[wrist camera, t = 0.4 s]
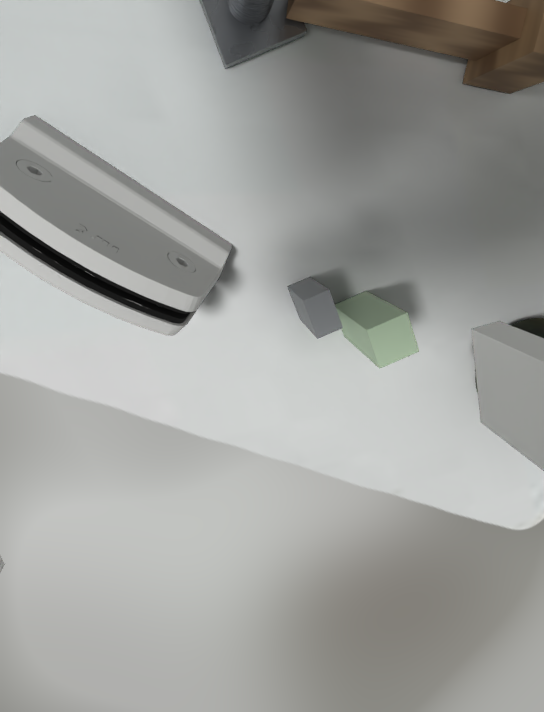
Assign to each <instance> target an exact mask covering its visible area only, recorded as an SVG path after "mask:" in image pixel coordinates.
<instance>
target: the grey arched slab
mask: <svg viewBox="0 0 544 712" xmlns="http://www.w3.org/2000/svg"><path fill="white" fill-rule="evenodd" d="M231 247H232V244H231V243H229V242H228V241H226V240H225V239H223V238H222V237H220V236H219V235H217V234H216V233H214V232H212V231H211V230H209V229H208V228H206V227H205V226H203V225H202V224H200V223H199V222H197V221H196V220H194V219H193V218H191V217H190V216H188V215H186V214H185V213H183V212H182V211H180V210H179V209H177V208H176V207H174V206H173V205H171V204H170V203H168V202H167V201H165V200H164V199H162V198H160V197H159V196H157V195H156V194H154V193H153V192H151V191H150V190H148V189H147V188H145V187H144V186H142V185H141V184H139V183H138V182H136V181H134V180H133V179H131V178H130V177H128V176H127V175H125V174H124V173H122V172H121V171H119V170H118V169H116V168H115V167H113V166H112V165H110V164H109V163H107V162H105V161H104V160H102V159H101V158H99V157H98V156H96V155H95V154H93V153H92V152H90V151H89V150H87V149H86V148H84V147H83V146H81V145H79V144H78V143H76V142H75V141H73V140H72V139H70V138H69V137H67V136H66V135H64V134H63V133H61V132H60V131H58V130H57V129H55V128H53V127H52V126H50V125H49V124H47V123H46V122H44V121H43V120H41V119H40V118H38V117H37V116H35V115H34V116H31V117H28V118H24V119H23V120H22V121H21V122H20V124H19V125H18V126H17V128H16V129H15V130H14V131H13V133H12V134H11V135H10V136H9V137H8V138H6V139H5V140H4V141H2V142H1V143H0V251H1V252H2V253H4V254H5V255H6V256H8V257H9V258H10V259H12V260H13V261H15V262H16V263H18V264H19V265H21V266H22V267H24V268H25V269H26V270H28V271H29V272H31V273H32V274H34V275H36V276H37V277H39V278H41V279H42V280H44V281H46V282H47V283H49V284H51V285H52V286H54V287H56V288H58V289H59V290H61V291H63V292H65V293H66V294H68V295H70V296H72V297H74V298H76V299H78V300H80V301H82V302H84V303H86V304H88V305H90V306H92V307H94V308H96V309H98V310H101V311H103V312H105V313H107V314H109V315H112V316H114V317H116V318H119V319H121V320H124V321H126V322H129V323H131V324H134V325H137V326H139V327H142V328H145V329H148V330H151V331H154V332H158V333H161V334H164V335H169V336H172V335H175V334H176V333H178V332H179V331H180V330H181V329H182V328H183V327H184V326H185V325H187V324H188V322H189V321H190V319H191V318H192V316H193V315H194V313H195V312H196V311H197V309H198V308H199V306H200V305H201V303H202V302H203V300H204V299H205V297H206V296H207V295H208V293H209V292H210V290H211V289H212V287H213V286H214V284H215V283H216V281H217V280H218V279H219V277H220V275H221V272H222V270H223V268H224V265H225V263H226V261H227V258H228V256H229V253H230V251H231Z"/></svg>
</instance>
